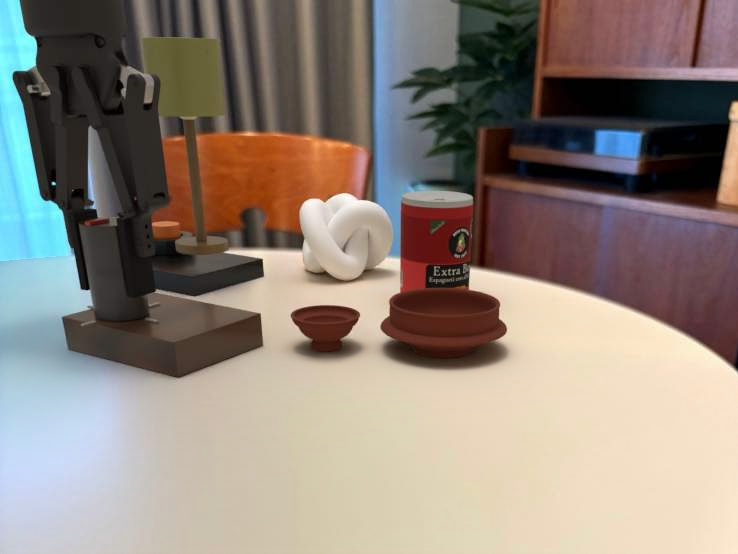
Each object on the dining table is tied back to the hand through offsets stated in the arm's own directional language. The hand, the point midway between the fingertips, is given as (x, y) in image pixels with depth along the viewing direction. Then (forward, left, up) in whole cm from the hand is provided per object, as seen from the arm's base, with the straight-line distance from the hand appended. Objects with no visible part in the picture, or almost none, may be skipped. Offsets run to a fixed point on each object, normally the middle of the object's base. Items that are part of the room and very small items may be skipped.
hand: (118, 290), depth 74 cm
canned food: (+15, +31, -5) cm, 35 cm away
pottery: (+21, +14, -5) cm, 26 cm away
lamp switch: (-21, +26, -2) cm, 34 cm away
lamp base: (-16, +23, -5) cm, 29 cm away
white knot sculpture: (-1, +35, -5) cm, 36 cm away
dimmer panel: (+3, +2, -5) cm, 6 cm away
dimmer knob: (0, 0, -2) cm, 2 cm away
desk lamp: (-11, +22, -1) cm, 25 cm away
